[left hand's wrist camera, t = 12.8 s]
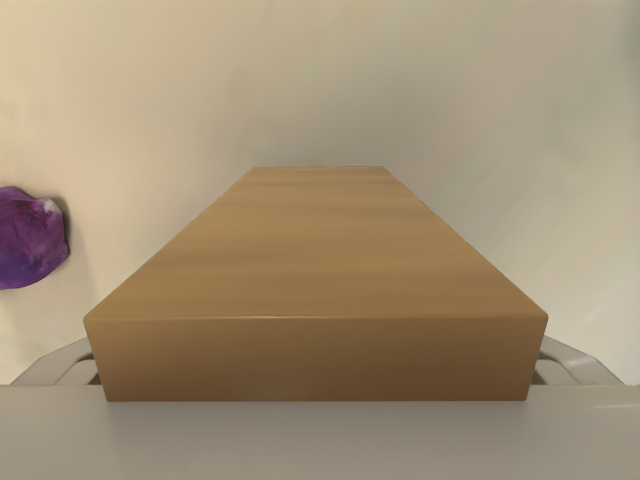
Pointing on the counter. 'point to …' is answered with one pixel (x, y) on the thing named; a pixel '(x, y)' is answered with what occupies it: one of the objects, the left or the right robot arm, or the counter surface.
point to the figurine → (29, 238)
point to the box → (316, 302)
